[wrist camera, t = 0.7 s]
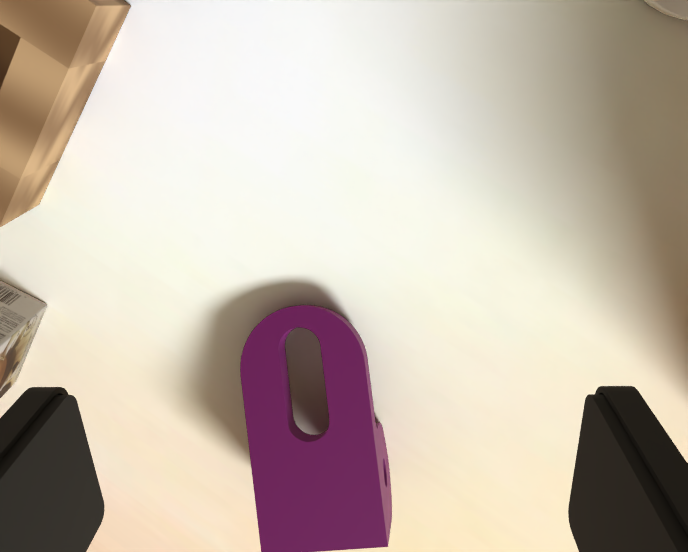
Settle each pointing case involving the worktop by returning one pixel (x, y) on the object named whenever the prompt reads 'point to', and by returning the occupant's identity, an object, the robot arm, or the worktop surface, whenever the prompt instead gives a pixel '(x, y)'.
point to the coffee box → (16, 331)
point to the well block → (46, 86)
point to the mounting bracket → (315, 442)
